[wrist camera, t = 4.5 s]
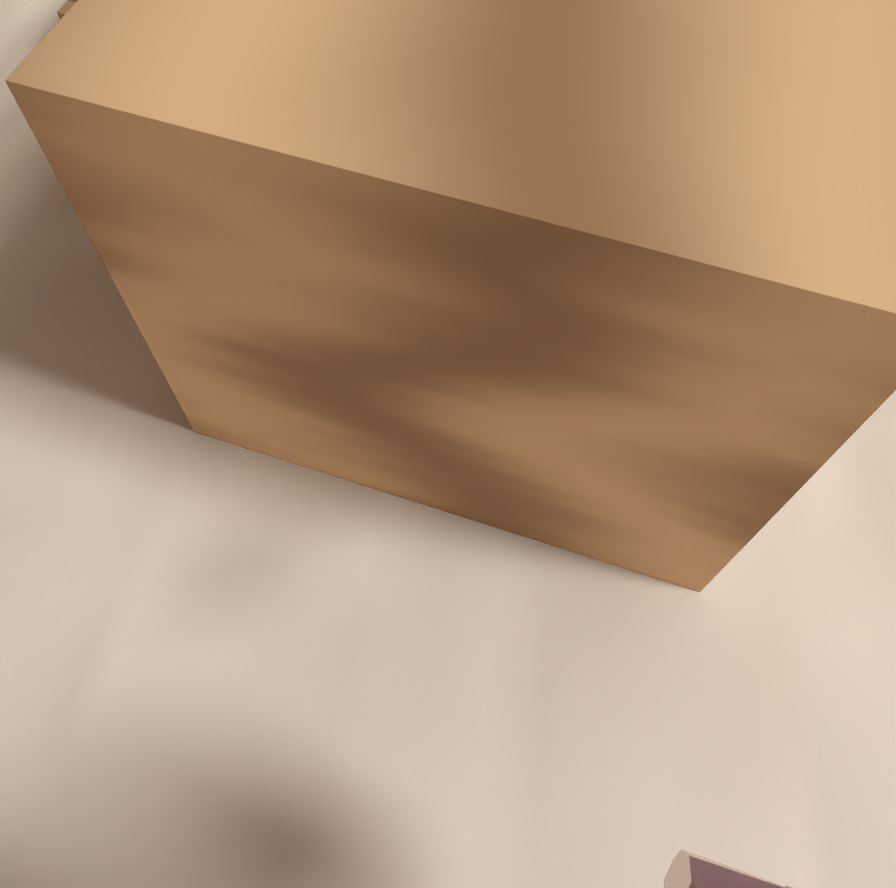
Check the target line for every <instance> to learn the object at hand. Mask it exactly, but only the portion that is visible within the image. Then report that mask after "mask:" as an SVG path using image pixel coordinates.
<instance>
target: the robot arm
mask: <svg viewBox="0 0 896 888" xmlns="http://www.w3.org/2000/svg"><path fill="white" fill-rule="evenodd" d="M664 888H792V887H789V886H785V887H783V886H781V885H779V884H776V883H773V882H770V881H768V880H765V879H762V878H759V877H757V876H754V875H751V874H748V873H745V872H743V871H740V870H737V869H734V868H732V867H729V866H726V865H723V864H721V863H718V862H715V861H712V860H709V859H707V858H704V857H701V856H698V855H696V854H693V853H690V852H687V851H684V850H682V849H681V850H680V852H679V853H678V854H677V855H676V857H675V858H674V859H673V861H672V863H671V865H670V868H669V870H668V872H667V874H666V877H665V879H664Z"/></svg>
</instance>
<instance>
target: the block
mask: <svg viewBox="0 0 896 888" xmlns="http://www.w3.org/2000/svg"><path fill="white" fill-rule="evenodd" d="M5 81H6V83H7V85H8V87H9V88H10V90H11V92H12V94H13V96H14V98H15V100H16V101H17V103H18V105H19V107H20V109H21V111H22V113H23V114H24V116H25V118H26V120H27V122H28V124H29V126H30V127H31V129H32V131H33V133H34V135H35V137H36V139H37V140H38V142H39V144H40V146H41V148H42V150H43V152H44V153H45V155H46V157H47V159H48V161H49V163H50V165H51V166H52V168H53V170H54V172H55V174H56V176H57V178H58V179H59V181H60V183H61V185H62V187H63V189H64V191H65V192H66V194H67V196H68V198H69V200H70V202H71V204H72V205H73V207H74V209H75V211H76V213H77V215H78V217H79V218H80V220H81V222H82V224H83V226H84V228H85V230H86V231H87V233H88V235H89V237H90V239H91V241H92V243H93V244H94V246H95V248H96V250H97V252H98V254H99V256H100V257H101V259H102V261H103V263H104V265H105V267H106V269H107V271H108V272H109V274H110V276H111V278H112V280H113V282H114V284H115V285H116V287H117V289H118V291H119V293H120V295H121V297H122V298H123V300H124V302H125V304H126V306H127V308H128V310H129V311H130V313H131V315H132V317H133V319H134V321H135V323H136V324H137V326H138V328H139V330H140V332H141V334H142V336H143V337H144V339H145V341H146V343H147V345H148V347H149V349H150V350H151V352H152V354H153V356H154V358H155V360H156V362H157V363H158V365H159V367H160V369H161V371H162V373H163V375H164V376H165V378H166V380H167V382H168V384H169V386H170V388H171V389H172V391H173V393H174V395H175V397H176V399H177V401H178V402H179V404H180V406H181V408H182V410H183V412H184V414H185V415H186V417H187V419H188V421H189V423H190V425H191V427H192V428H193V430H194V432H197V433H200V434H203V435H206V436H210V437H213V438H216V439H219V440H222V441H225V442H229V443H232V444H235V445H238V446H241V447H244V448H247V449H251V450H254V451H257V452H260V453H263V454H266V455H269V456H273V457H276V458H279V459H282V460H285V461H288V462H292V463H295V464H298V465H301V466H304V467H307V468H310V469H314V470H317V471H320V472H323V473H326V474H329V475H333V476H336V477H339V478H342V479H345V480H348V481H351V482H355V483H358V484H361V485H364V486H367V487H370V488H373V489H377V490H380V491H383V492H386V493H389V494H392V495H396V496H399V497H402V498H405V499H408V500H411V501H414V502H418V503H421V504H424V505H427V506H430V507H433V508H437V509H440V510H443V511H446V512H449V513H452V514H455V515H459V516H462V517H465V518H468V519H471V520H474V521H477V522H481V523H484V524H487V525H490V526H493V527H496V528H500V529H503V530H506V531H509V532H512V533H515V534H518V535H522V536H525V537H528V538H531V539H534V540H537V541H540V542H544V543H547V544H550V545H553V546H556V547H559V548H563V549H566V550H569V551H572V552H575V553H578V554H581V555H585V556H588V557H591V558H594V559H597V560H600V561H604V562H607V563H610V564H613V565H616V566H619V567H622V568H626V569H629V570H632V571H635V572H638V573H641V574H644V575H648V576H651V577H654V578H657V579H660V580H663V581H667V582H670V583H673V584H676V585H679V586H682V587H685V588H689V589H692V590H695V591H698V592H700V591H701V590H702V589H703V588H704V587H705V586H706V585H707V584H708V583H709V582H710V581H711V580H712V579H713V578H714V577H715V576H716V575H717V574H718V573H719V572H720V571H721V570H722V569H723V568H724V567H725V566H726V565H727V563H728V562H729V561H730V560H731V559H732V558H733V557H734V556H735V555H736V554H737V553H738V552H739V551H740V550H741V549H742V548H743V547H744V546H745V545H746V544H747V543H748V542H749V541H750V540H751V539H752V538H753V537H754V536H755V535H756V534H757V533H758V531H759V530H760V529H761V528H762V527H763V526H764V525H765V524H766V523H767V522H768V521H769V520H770V519H771V518H772V517H773V516H774V515H775V514H776V513H777V512H778V511H779V510H780V509H781V508H782V507H783V506H784V505H785V504H786V503H787V502H788V500H789V499H790V498H791V497H792V496H793V495H794V494H795V493H796V492H797V491H798V490H799V489H800V488H801V487H802V486H803V485H804V484H805V483H806V482H807V481H808V480H809V479H810V478H811V477H812V476H813V475H814V474H815V473H816V472H817V471H818V470H819V468H820V467H821V466H822V465H823V464H824V463H825V462H826V461H827V460H828V459H829V458H830V457H831V456H832V455H833V454H834V453H835V452H836V451H837V450H838V449H839V448H840V447H841V446H842V445H843V444H844V443H845V442H846V441H847V440H848V439H849V437H850V436H851V435H852V434H853V433H854V432H855V431H856V430H857V429H858V428H859V427H860V426H861V425H862V424H863V423H864V422H865V421H866V420H867V419H868V418H869V417H870V416H871V415H872V414H873V413H874V412H875V411H876V410H877V409H878V408H879V407H880V405H881V404H882V403H883V402H884V401H885V400H886V399H887V398H888V397H889V396H890V395H891V394H892V393H893V392H894V391H895V390H896V0H78V1H77V2H76V3H75V4H74V5H73V6H72V7H71V9H70V10H69V11H68V12H67V13H66V14H65V15H64V16H63V17H62V18H61V20H60V21H59V22H58V23H57V24H56V25H55V26H54V27H53V28H52V29H51V31H50V32H49V33H48V34H47V35H46V36H45V37H44V38H43V39H42V40H41V42H40V43H39V44H38V45H37V46H36V47H35V48H34V49H33V50H32V51H31V52H30V54H29V55H28V56H27V57H26V58H25V59H24V60H23V61H22V62H21V63H20V65H19V66H18V67H17V68H16V69H15V70H14V71H13V72H12V73H11V74H10V76H9V77H8V78H7V79H6V80H5Z"/></svg>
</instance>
